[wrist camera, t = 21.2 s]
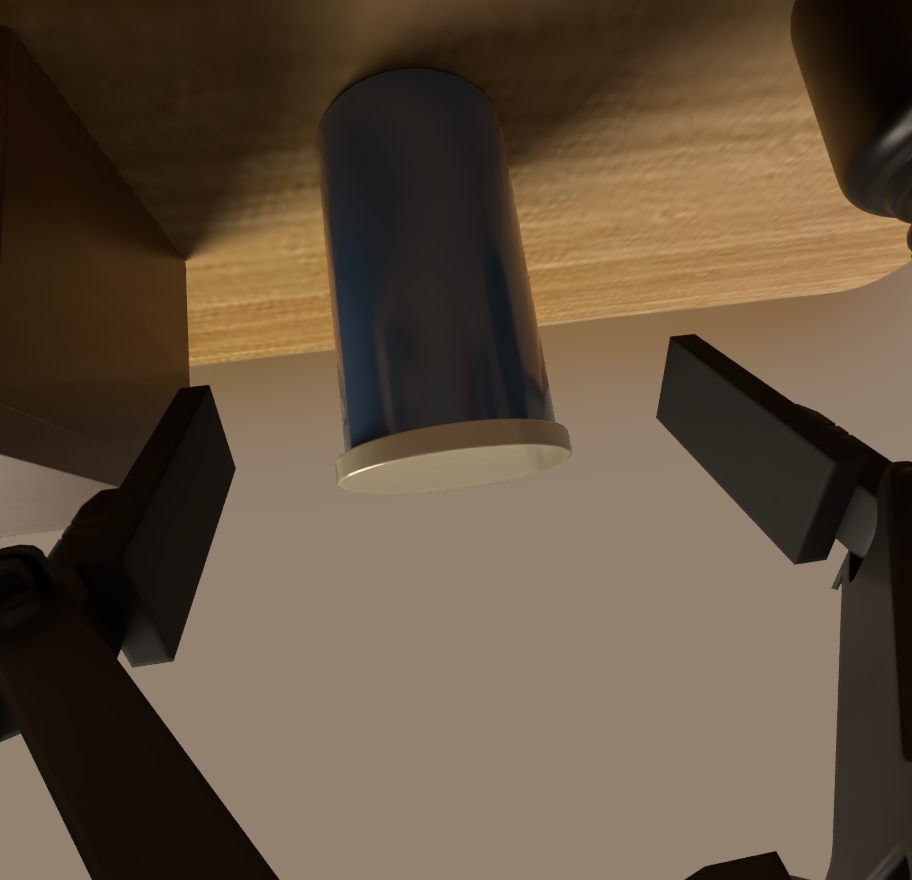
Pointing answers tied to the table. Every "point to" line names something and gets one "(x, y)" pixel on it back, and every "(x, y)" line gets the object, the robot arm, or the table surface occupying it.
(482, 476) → the blue lidded mug
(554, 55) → the table surface
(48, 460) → the brown miniature bookshelf
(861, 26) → the ink bottle
